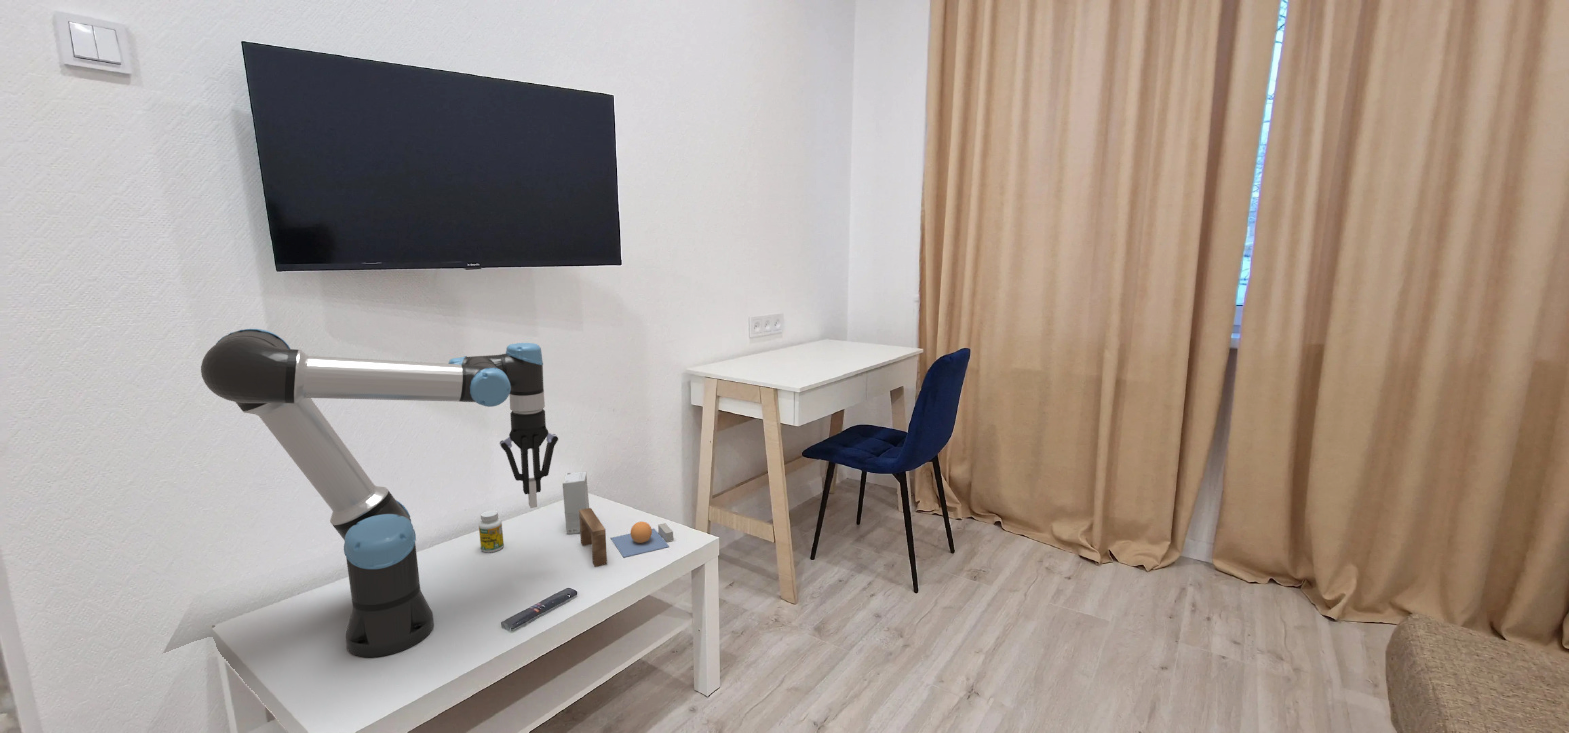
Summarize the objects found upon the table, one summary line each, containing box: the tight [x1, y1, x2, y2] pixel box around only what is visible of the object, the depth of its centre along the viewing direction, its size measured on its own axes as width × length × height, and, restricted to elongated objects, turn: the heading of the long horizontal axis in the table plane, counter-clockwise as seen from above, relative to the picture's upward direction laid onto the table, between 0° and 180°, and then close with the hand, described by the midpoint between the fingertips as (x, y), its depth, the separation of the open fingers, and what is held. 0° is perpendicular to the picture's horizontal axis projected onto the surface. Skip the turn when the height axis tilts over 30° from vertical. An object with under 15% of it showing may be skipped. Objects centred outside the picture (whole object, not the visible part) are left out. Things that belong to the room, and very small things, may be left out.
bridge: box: [579, 507, 608, 568], centre depth 166 cm, size 3×14×9 cm, turn 30°
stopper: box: [657, 522, 674, 543], centre depth 176 cm, size 2×6×2 cm, turn 30°
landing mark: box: [610, 527, 670, 559], centre depth 172 cm, size 12×12×1 cm
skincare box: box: [562, 471, 590, 535], centre depth 180 cm, size 8×6×15 cm
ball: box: [630, 521, 653, 543], centre depth 172 cm, size 6×6×6 cm
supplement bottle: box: [478, 509, 504, 554], centre depth 168 cm, size 5×5×10 cm
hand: (532, 505), depth 157 cm, fingers closed
